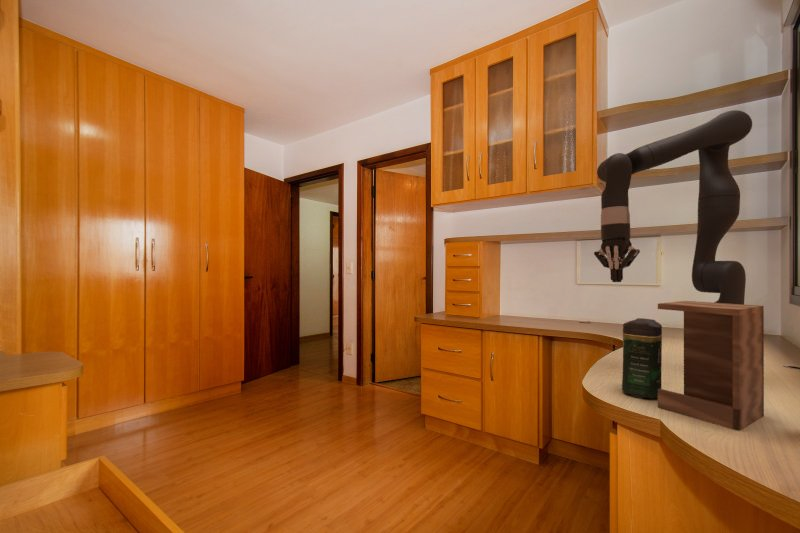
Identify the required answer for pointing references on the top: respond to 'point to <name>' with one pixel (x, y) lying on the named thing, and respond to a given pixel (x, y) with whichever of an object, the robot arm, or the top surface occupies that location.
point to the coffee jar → (642, 358)
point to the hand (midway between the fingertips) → (616, 282)
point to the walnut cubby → (720, 363)
